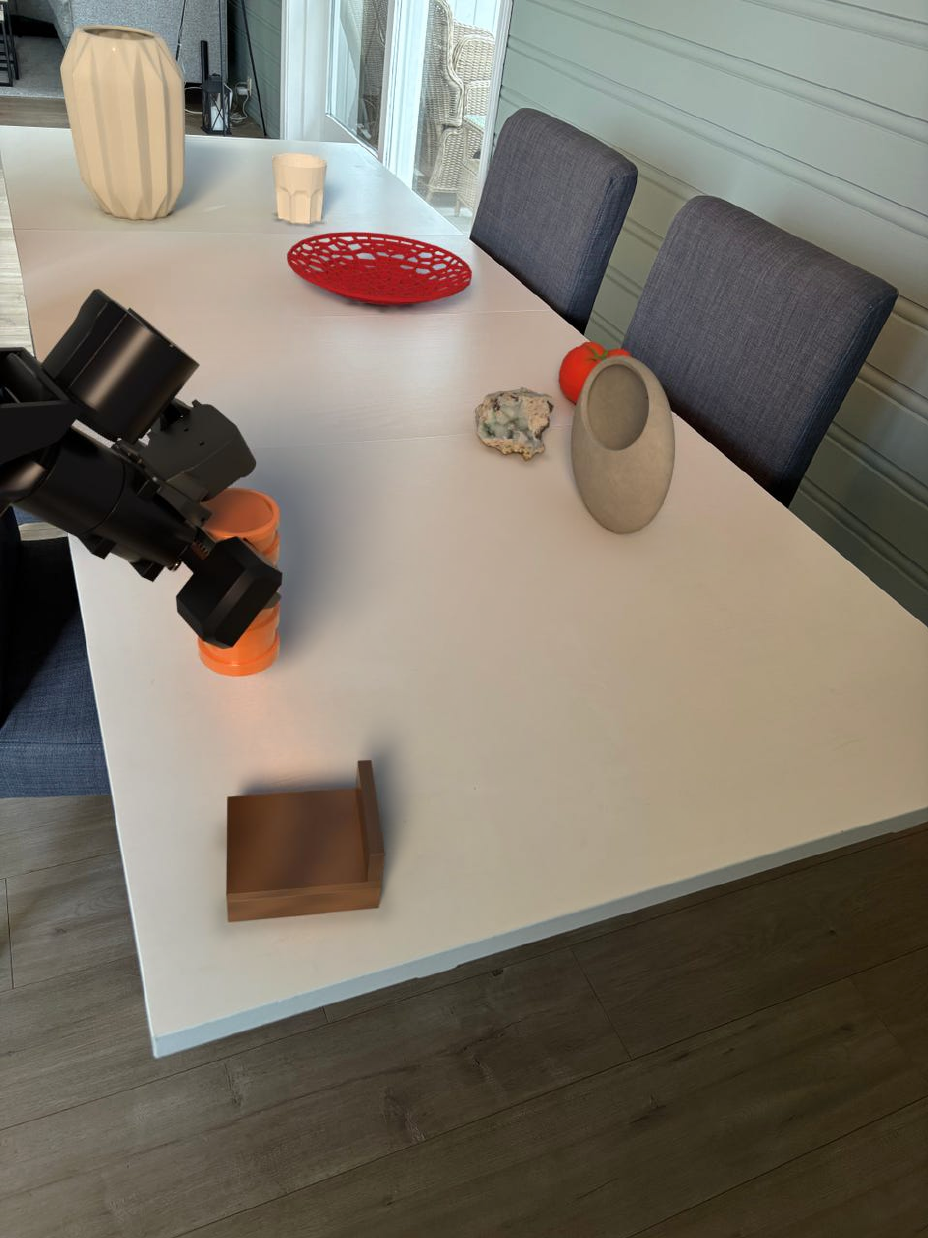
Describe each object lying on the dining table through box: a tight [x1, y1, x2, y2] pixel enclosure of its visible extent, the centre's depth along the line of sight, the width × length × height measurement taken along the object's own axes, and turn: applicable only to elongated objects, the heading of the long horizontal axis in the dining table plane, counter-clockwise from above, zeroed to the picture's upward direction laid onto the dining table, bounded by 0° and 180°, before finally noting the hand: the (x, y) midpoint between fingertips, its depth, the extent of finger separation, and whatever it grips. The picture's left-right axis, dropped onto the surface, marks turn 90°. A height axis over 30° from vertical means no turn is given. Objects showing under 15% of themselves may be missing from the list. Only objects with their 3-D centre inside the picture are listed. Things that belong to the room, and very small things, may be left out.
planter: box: [570, 355, 676, 535], centre depth 98 cm, size 18×7×19 cm, turn 20°
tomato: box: [558, 341, 632, 405], centre depth 125 cm, size 11×11×8 cm
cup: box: [271, 152, 328, 225], centre depth 170 cm, size 10×10×10 cm
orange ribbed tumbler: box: [193, 487, 281, 678], centre depth 68 cm, size 6×6×13 cm
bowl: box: [286, 231, 473, 306], centre depth 147 cm, size 29×29×5 cm
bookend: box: [225, 759, 386, 923], centre depth 62 cm, size 10×8×6 cm
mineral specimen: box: [474, 386, 556, 461], centre depth 114 cm, size 10×8×10 cm
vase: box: [59, 24, 186, 221], centre depth 156 cm, size 20×20×28 cm
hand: (253, 578), depth 68 cm, fingers closed on orange ribbed tumbler, 6 cm apart
